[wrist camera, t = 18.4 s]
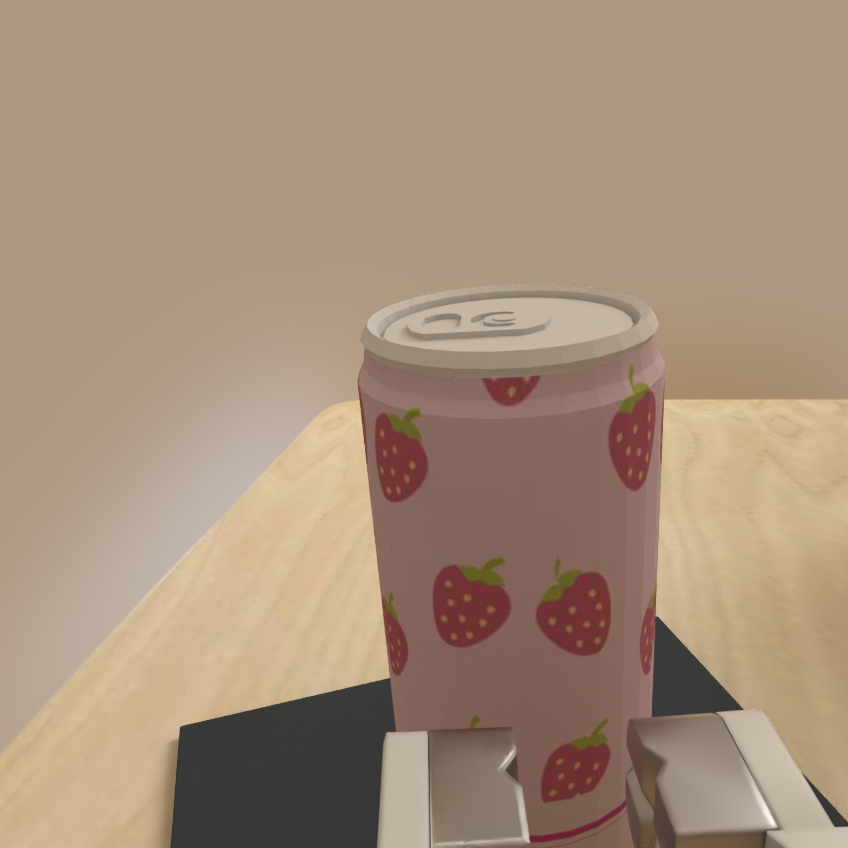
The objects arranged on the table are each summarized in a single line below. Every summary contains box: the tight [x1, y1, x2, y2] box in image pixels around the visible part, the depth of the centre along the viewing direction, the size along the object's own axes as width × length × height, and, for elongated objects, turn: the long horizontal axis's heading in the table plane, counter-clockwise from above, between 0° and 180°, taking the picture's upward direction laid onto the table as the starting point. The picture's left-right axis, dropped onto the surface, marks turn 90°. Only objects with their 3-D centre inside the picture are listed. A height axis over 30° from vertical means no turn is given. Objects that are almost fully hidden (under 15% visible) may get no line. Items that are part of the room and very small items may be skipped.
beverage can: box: [358, 284, 665, 848], centre depth 16 cm, size 6×6×15 cm
